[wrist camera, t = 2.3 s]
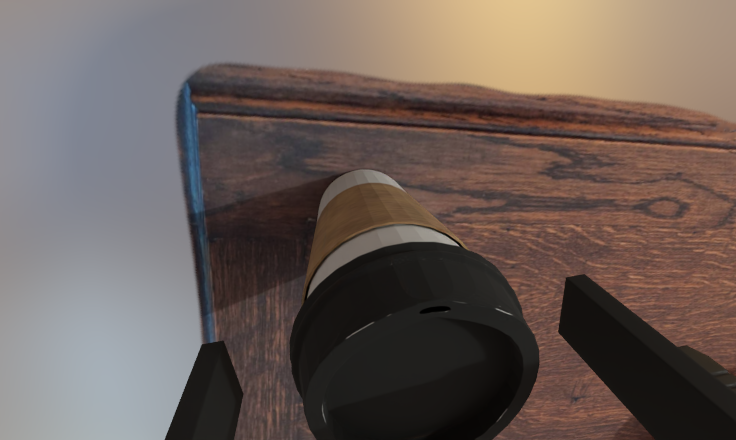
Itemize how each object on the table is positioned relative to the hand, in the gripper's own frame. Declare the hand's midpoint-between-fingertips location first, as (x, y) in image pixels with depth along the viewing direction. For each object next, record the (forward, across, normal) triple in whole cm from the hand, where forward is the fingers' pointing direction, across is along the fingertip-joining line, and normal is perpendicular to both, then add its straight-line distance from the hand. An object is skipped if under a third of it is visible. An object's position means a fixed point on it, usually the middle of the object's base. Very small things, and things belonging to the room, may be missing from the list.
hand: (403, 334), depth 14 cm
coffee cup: (+12, 0, 0) cm, 12 cm away
